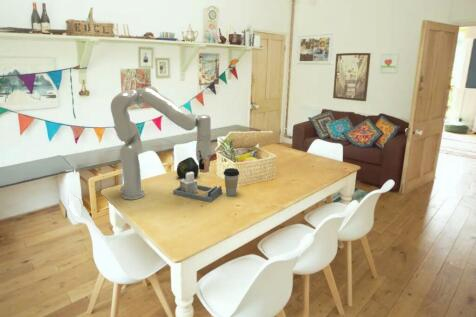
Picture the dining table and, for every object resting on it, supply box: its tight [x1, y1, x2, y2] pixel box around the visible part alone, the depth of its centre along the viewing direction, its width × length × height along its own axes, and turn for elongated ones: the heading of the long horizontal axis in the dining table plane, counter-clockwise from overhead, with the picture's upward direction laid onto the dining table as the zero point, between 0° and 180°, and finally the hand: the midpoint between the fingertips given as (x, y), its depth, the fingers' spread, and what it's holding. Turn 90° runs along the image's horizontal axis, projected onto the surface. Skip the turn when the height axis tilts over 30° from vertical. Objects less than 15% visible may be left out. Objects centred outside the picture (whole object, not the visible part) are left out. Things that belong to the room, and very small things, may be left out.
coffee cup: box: [222, 167, 240, 197], centre depth 191 cm, size 9×9×15 cm
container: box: [179, 171, 199, 194], centre depth 193 cm, size 8×8×13 cm
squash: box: [176, 156, 200, 179], centre depth 216 cm, size 14×15×15 cm
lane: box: [172, 184, 223, 203], centre depth 191 cm, size 26×14×5 cm, turn 66°
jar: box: [199, 156, 210, 174], centre depth 185 cm, size 6×6×9 cm
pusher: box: [205, 185, 218, 197], centre depth 188 cm, size 1×11×5 cm, turn 156°
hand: (204, 167), depth 185 cm, fingers closed on jar, 5 cm apart
